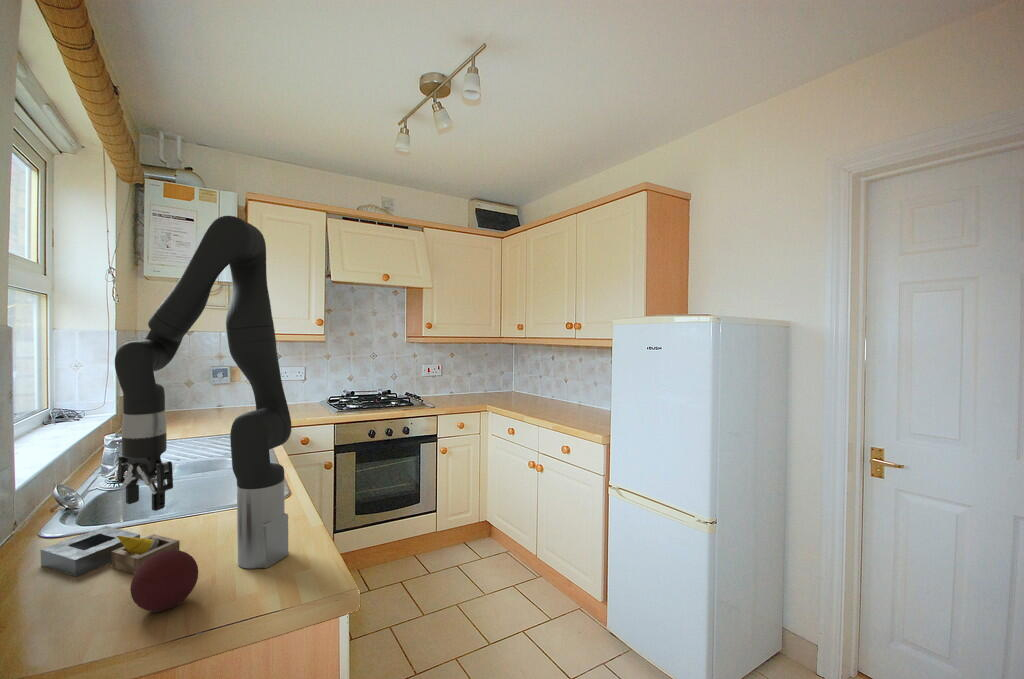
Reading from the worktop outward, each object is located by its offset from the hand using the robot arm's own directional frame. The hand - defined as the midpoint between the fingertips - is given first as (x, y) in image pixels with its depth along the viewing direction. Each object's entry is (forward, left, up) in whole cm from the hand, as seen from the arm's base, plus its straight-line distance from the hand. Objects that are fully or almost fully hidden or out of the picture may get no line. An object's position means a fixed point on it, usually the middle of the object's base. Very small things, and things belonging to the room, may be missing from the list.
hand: (145, 505), depth 99 cm
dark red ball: (-20, +9, -13) cm, 26 cm away
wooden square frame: (0, 0, -12) cm, 12 cm away
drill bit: (0, +1, -12) cm, 12 cm away
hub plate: (+13, +3, -12) cm, 18 cm away
